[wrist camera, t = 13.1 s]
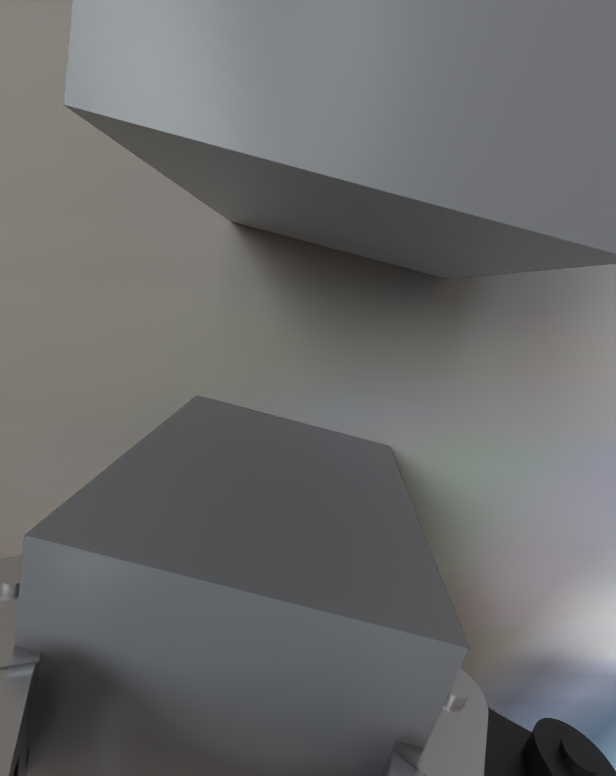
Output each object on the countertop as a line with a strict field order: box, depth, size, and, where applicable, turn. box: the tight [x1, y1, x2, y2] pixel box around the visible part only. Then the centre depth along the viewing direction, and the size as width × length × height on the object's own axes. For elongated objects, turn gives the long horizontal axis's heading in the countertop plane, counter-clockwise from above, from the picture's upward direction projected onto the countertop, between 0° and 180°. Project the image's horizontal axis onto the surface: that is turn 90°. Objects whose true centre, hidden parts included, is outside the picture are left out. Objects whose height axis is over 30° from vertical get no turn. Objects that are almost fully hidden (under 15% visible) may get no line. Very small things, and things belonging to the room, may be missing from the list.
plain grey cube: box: [14, 396, 469, 776], centre depth 9 cm, size 6×6×7 cm
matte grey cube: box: [63, 0, 616, 279], centre depth 7 cm, size 6×6×7 cm
